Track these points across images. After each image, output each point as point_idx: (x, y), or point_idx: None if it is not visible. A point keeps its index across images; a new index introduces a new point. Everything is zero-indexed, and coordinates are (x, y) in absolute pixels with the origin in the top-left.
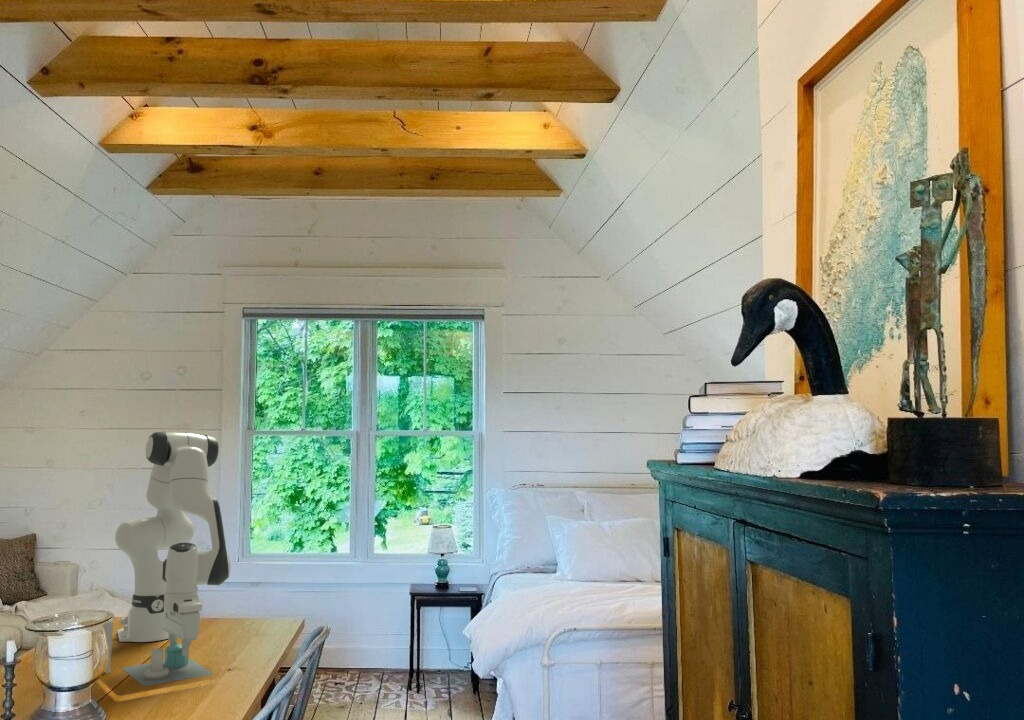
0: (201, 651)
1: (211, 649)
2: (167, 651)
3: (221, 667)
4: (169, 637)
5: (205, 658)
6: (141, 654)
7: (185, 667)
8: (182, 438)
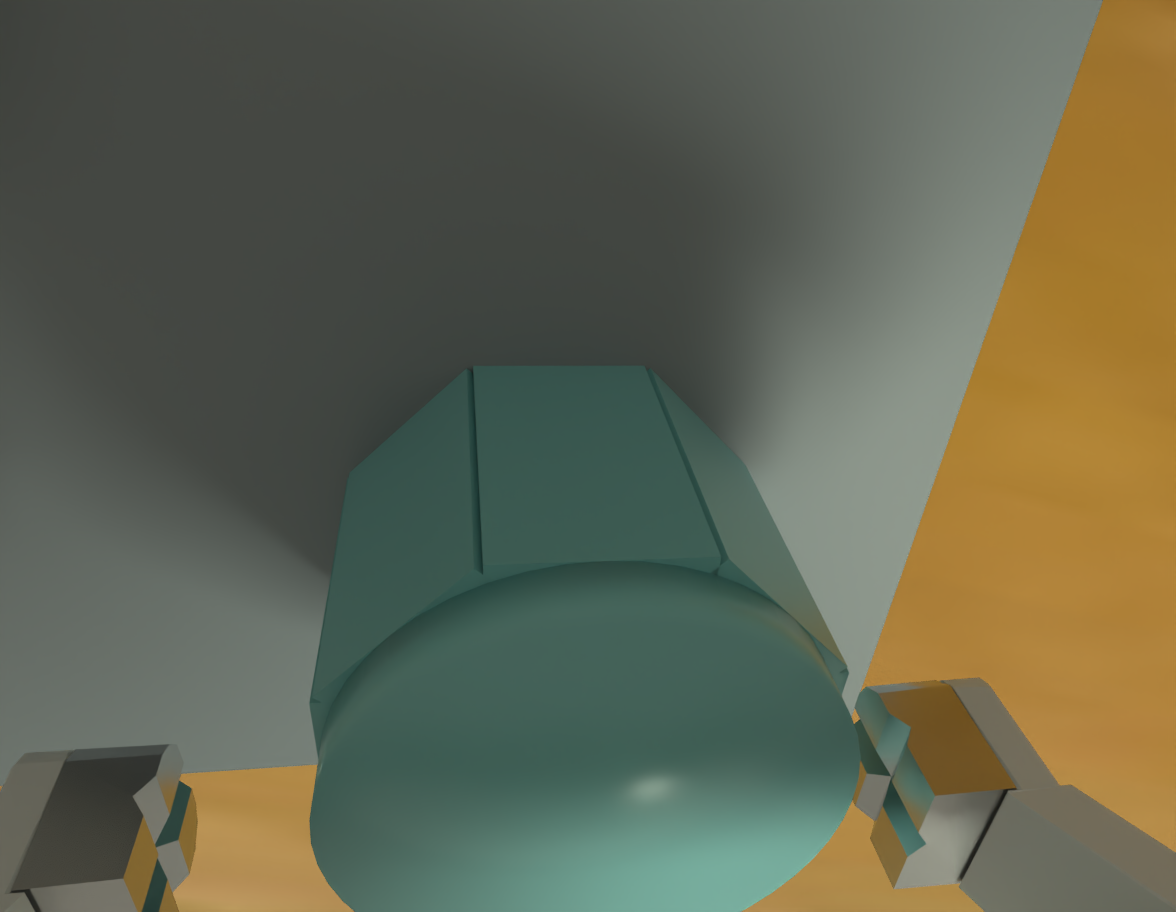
0: None
1: None
2: (532, 579)
3: (232, 885)
4: (1165, 902)
5: None
6: None
7: (226, 597)
8: None
